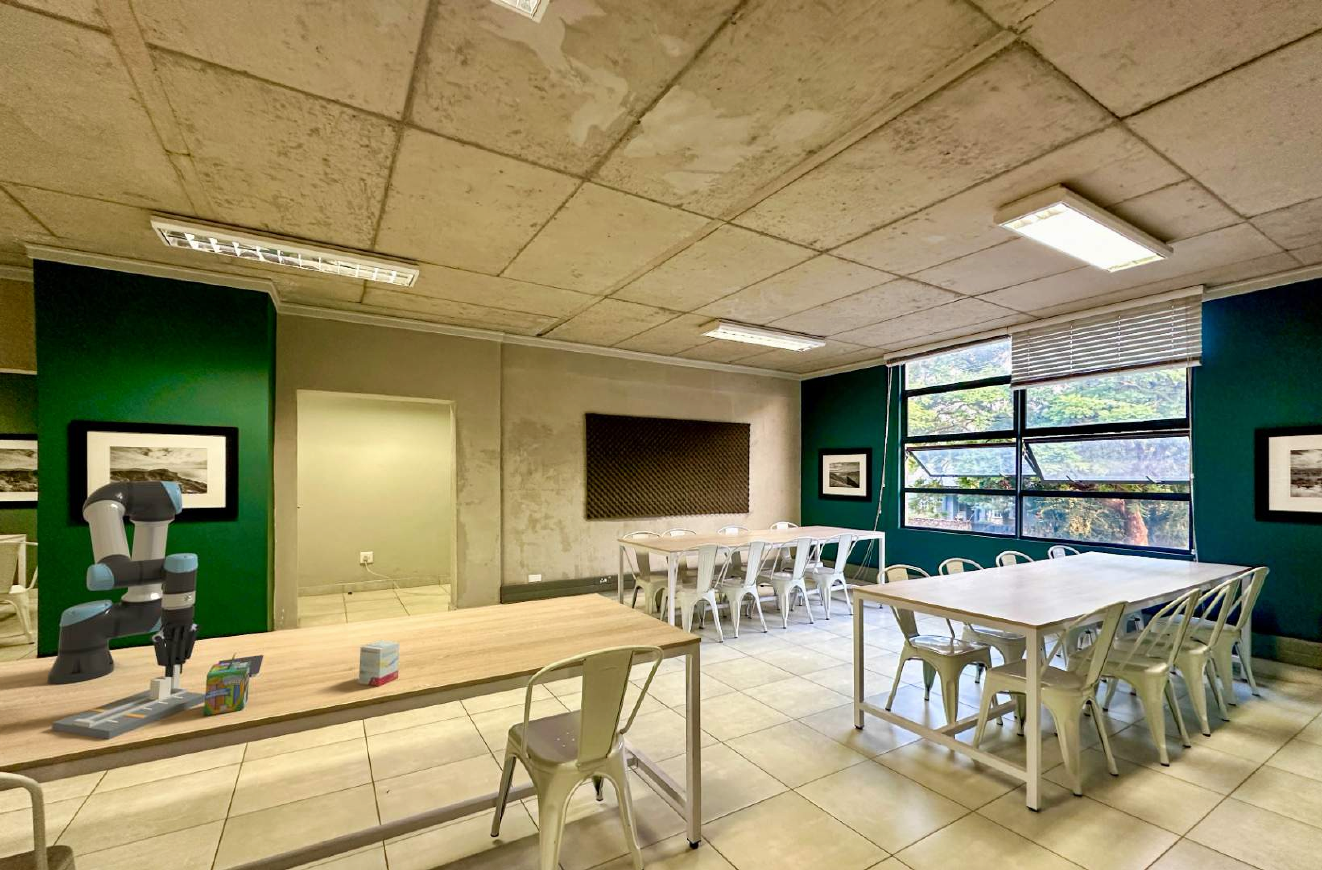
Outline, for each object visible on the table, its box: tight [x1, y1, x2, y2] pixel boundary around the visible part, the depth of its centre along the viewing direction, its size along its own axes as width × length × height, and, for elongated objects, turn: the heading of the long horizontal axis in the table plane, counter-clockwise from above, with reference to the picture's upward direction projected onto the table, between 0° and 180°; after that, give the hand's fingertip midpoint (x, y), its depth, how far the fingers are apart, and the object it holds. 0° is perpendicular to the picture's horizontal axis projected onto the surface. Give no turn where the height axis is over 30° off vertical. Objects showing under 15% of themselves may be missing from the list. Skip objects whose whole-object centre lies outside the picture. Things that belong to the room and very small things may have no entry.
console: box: [51, 686, 206, 740], centre depth 153 cm, size 20×24×3 cm
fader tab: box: [149, 675, 171, 700], centre depth 160 cm, size 4×3×6 cm
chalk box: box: [203, 652, 251, 717], centre depth 159 cm, size 9×9×15 cm
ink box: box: [358, 639, 400, 687], centre depth 180 cm, size 9×9×12 cm
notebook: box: [217, 654, 264, 678], centre depth 189 cm, size 13×2×21 cm
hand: (172, 687), depth 163 cm, fingers closed
